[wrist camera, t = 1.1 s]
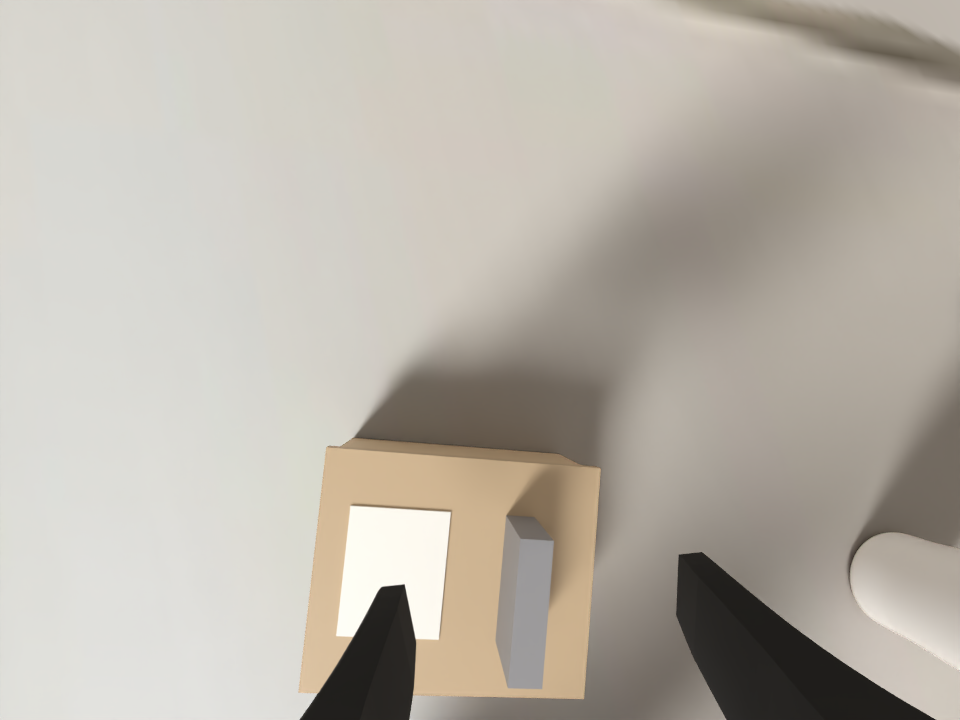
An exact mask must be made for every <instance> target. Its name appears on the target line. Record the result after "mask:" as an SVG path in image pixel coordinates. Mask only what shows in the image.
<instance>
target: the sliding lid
mask: <svg viewBox="0 0 960 720" xmlns="http://www.w3.org/2000/svg"><path fill="white" fill-rule="evenodd" d="M600 473H601V468H599V467H597V466H584V465H571V464H558V463H545V462H532V461H519V460H506V459H493V458H480V457H467V456H454V455H441V454H429V453H416V452H403V451H390V450H377V449H364V448H351V447H338V446H328V447H326V455H325V464H324V472H323V481H322V490H321V499H320V508H319V516H318V525H317V534H316V543H315V552H314V560H313V569H312V578H311V587H310V596H309V604H308V613H307V622H306V631H305V640H304V648H303V657H302V666H301V675H300V684H299V692H298V693H319V691H320V690H321V688H322V687H323V685H324V684H325V682H326V680H327V679H328V677H329V676H330V674H331V673H332V671H333V670H334V668H335V667H336V665H337V663H338V662H339V660H340V658H341V657H342V655H343V653H344V652H345V650H346V648H347V647H348V645H349V643H350V642H351V640H352V638H353V637H354V635H355V633H356V631H357V630H358V628H359V626H360V624H361V622H362V621H363V619H364V617H365V615H366V613H367V611H368V610H369V608H370V606H371V604H372V602H373V600H374V598H375V596H376V594H377V592H378V590H379V589H380V588H381V587H384V586H393V585H402V584H405V588H406V593H407V598H408V603H409V608H410V613H411V618H412V623H413V628H414V633H415V638H416V662H415V680H414V691H413V695H423V696H468V697H513V698H558V699H584V692H585V679H586V665H587V651H588V638H589V624H590V610H591V596H592V583H593V569H594V555H595V541H596V528H597V514H598V500H599V486H600Z"/></svg>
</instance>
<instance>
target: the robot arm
mask: <svg viewBox="0 0 960 720" xmlns="http://www.w3.org/2000/svg"><path fill="white" fill-rule="evenodd" d="M676 616H677V618H678V621H679V623H680V626H681V628H682V631H683V633H684V636H685V638H686V641H687V643H688V646H689V648H690V650H691V653H692V655H693V657H694V659H695V661H696V663H697V665H698V667H699V669H700V671H701V673H702V675H703V677H704V678H705V680H706V682H707V684H708V686H709V688H710V690H711V692H712V693H713V695H714V697H715V699H716V701H717V703H718V705H719V707H720V708H721V710H722V712H723V714H724V716H725V718H726V720H935V719H934V718H932V717H930V716H929V715H927V714H925V713H923V712H922V711H920V710H918V709H916V708H915V707H913V706H911V705H910V704H908V703H906V702H904V701H903V700H901V699H899V698H898V697H896V696H895V695H893V694H891V693H890V692H888V691H886V690H885V689H883V688H882V687H880V686H878V685H877V684H875V683H874V682H872V681H871V680H869V679H868V678H866V677H865V676H863V675H861V674H860V673H858V672H857V671H855V670H854V669H852V668H851V667H849V666H848V665H846V664H845V663H843V662H842V661H840V660H839V659H837V658H836V657H834V656H833V655H831V654H830V653H829V652H827V651H826V650H824V649H823V648H822V647H820V646H819V645H817V644H816V643H815V642H813V641H812V640H811V639H809V638H808V637H806V636H805V635H804V634H802V633H801V632H800V631H798V630H797V629H796V628H794V627H793V626H792V625H790V624H789V623H788V622H786V621H785V620H784V619H783V618H781V617H780V616H779V615H778V614H776V613H775V612H774V611H773V610H771V609H770V608H769V607H767V606H766V605H765V604H764V603H762V602H761V601H760V600H759V599H758V598H756V597H755V596H754V595H753V594H751V593H750V592H749V591H748V590H747V589H745V588H744V587H743V586H742V585H741V584H739V583H738V582H737V581H736V580H735V579H733V578H732V577H731V576H730V575H729V574H727V573H726V572H725V571H724V570H723V569H722V568H720V567H719V566H718V565H717V564H716V563H714V562H713V561H712V560H711V559H710V558H708V557H707V556H706V555H705V554H704V553H702V552H700V553H690V554H681V555H679V560H678V585H677V611H676ZM415 662H416V638H415V633H414V628H413V623H412V618H411V613H410V608H409V603H408V598H407V593H406V588H405V584H402V585H393V586H384V587H381V588H380V589H379V590H378V592H377V594H376V596H375V598H374V600H373V602H372V604H371V606H370V608H369V610H368V611H367V613H366V615H365V617H364V619H363V621H362V622H361V624H360V626H359V628H358V630H357V631H356V633H355V635H354V637H353V638H352V640H351V642H350V643H349V645H348V647H347V648H346V650H345V652H344V653H343V655H342V657H341V658H340V660H339V662H338V663H337V665H336V667H335V668H334V670H333V671H332V673H331V674H330V676H329V677H328V679H327V680H326V682H325V684H324V685H323V687H322V688H321V690H320V691H319V693H318V694H317V696H316V697H315V699H314V700H313V702H312V703H311V705H310V706H309V707H308V709H307V710H306V712H305V713H304V714H303V716H302V717H301V719H300V720H409V717H410V711H411V704H412V698H413V691H414V680H415Z"/></svg>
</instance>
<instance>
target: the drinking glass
mask: <svg viewBox="0 0 960 720" xmlns="http://www.w3.org/2000/svg"><path fill="white" fill-rule="evenodd" d="M850 584H851V589H852V593H853V595H854V598H855V600H856V602H857V603H858V605H859V607H860V608H861V609H862V611H863V612H864V613H865V614H866V615H867V616H868V617H869V618H871V619H872V620H873V621H875V622H876V623H878V624H879V625H881V626H883V627H885V628H887V629H888V630H890V631H892V632H894V633H896V634H898V635H900V636H902V637H904V638H905V639H907V640H909V641H911V642H912V643H914V644H916V645H917V646H919V647H921V648H922V649H924V650H925V651H927V652H929V653H930V654H932V655H934V656H935V657H937V658H939V659H940V660H942V661H943V662H945V663H947V664H948V665H950V666H952V667H953V668H955V669H956V670H958V671H960V549H959V548H955V547H951V546H947V545H943V544H939V543H935V542H931V541H928V540H925V539H922V538H918V537H915V536H912V535H908V534H904V533H898V532H887V533H881V534H878V535H875V536H873V537H871V538H870V539H868V540H867V541H866V542H864V543H863V544H862V545H861V547H860V548H859V549H858V551H857V552H856V554H855V556H854V558H853V561H852V564H851V569H850Z"/></svg>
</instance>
